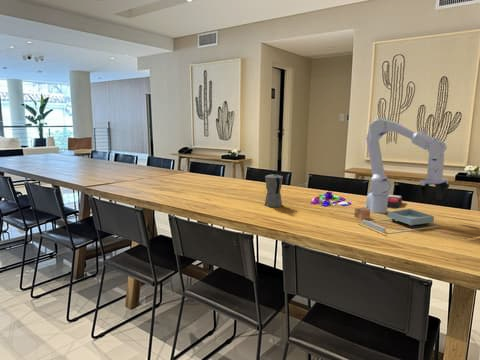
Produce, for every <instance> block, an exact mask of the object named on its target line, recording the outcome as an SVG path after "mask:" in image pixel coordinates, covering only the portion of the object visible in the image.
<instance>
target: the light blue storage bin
mask: <svg viewBox="0 0 480 360" xmlns="http://www.w3.org/2000/svg"><path fill="white" fill-rule="evenodd" d="M387 218H388V219H392V220H391V221H392V222H395V221H398V222H401V223H404V224H407V225H408V226H409V228H410V229H411V228H413V227H414V225H421V224H422V225H423V224H424V226H429V224H430V223H434V220H435V216H434V215H431V214H428V213H424V212H421V211H418V210H414V209H410V208H407V209H397V210H387Z"/></svg>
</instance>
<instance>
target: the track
mask: <svg viewBox="0 0 480 360" xmlns="http://www.w3.org/2000/svg"><path fill="white" fill-rule="evenodd" d="M390 220H391V221H392V218H384V219H376V220H367V219H361V222H360V223H361V224H360V223H359V224H357V225H358V226H361V227H364V228H366V229H368V230H370V231H372V232H375V233H377V234H381V235H383V236H384V237H387V235H389V234H390V235H391V234H398V233H403V232H411V231H417V230H425V229H432V228H438V226H437V225H432V226H427V227H419V228H418V227H417V228H413V229H411V228H410V229H405V230H398V231H391V232H387V233H386V229H387V228H386V227H384V226H381V225H379V224H376V222H382V221H390ZM373 229H374V230H373ZM384 233H386V234H387V235H386V234H384Z"/></svg>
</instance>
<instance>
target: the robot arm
mask: <svg viewBox="0 0 480 360" xmlns="http://www.w3.org/2000/svg"><path fill="white" fill-rule="evenodd" d="M368 128H369V129H368V132H367V135H366V137H365V138H366V139H365V140H366V145H367V151H368V157H369V163H370V168H371V173H372V174H371V175H372V177H371V178H370V187H369V189H370V192H369V193H368V194H367V195H366V201H365V208H368V209H370V212H372V213H375V214H386V213H388V207H387V204H388V195H389V193H388V192H389V191H390V190H391V183H390V181H389V179H388V176H387V175H386V173H385V170H384V163H383V157H382V151H381V146H380V139H381V138H382V137H383V136H384V135H385V134H387V133H388V132H395V133H397V134H399V135H401V136H403V137H406V138H407V139H410V140H411V143H412V144H414V145H415V146H416V147H419V148H421V149H423V150H425V151H427V152H428V161H427V172H426V173H427V174H426V178H425V179H420V180H419V184H418V187H419V189H420V192H421V195H422V199H423V200H422V201H423V202H427V203H429V202H430V198H431V193H432V190H433V188H435V199H436V200H437V201H442V200H443V198H444V195H445V193H446V192H447V190H448V189H449V187H450V184H449V180H450V179H449V178H446V177H444V178H443V176H444V175H443V174H444V162H445V152H446V150H447V144H446V143H445V142H444V141H443V140H442V139H437V137H432V136H430V135H428V134H427V132H425V131H416V132H415V131H413V130H411V129H409V128H408V127H405V126H404V125H402V124H400V123H398V122H396V121H394V120H390V119H387V118H376V119H374V120H372V121H371V123H370V124H369V127H368ZM431 185H434V186H431Z"/></svg>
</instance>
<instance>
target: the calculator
mask: <svg viewBox="0 0 480 360" xmlns="http://www.w3.org/2000/svg"><path fill="white" fill-rule="evenodd" d="M402 203H403V196H402V195H396V194H395V195H394V194H388V204H387V208H390V207H391V208H392V209H399V208H400V205H401V204H402ZM391 208H390V209H391Z"/></svg>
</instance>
